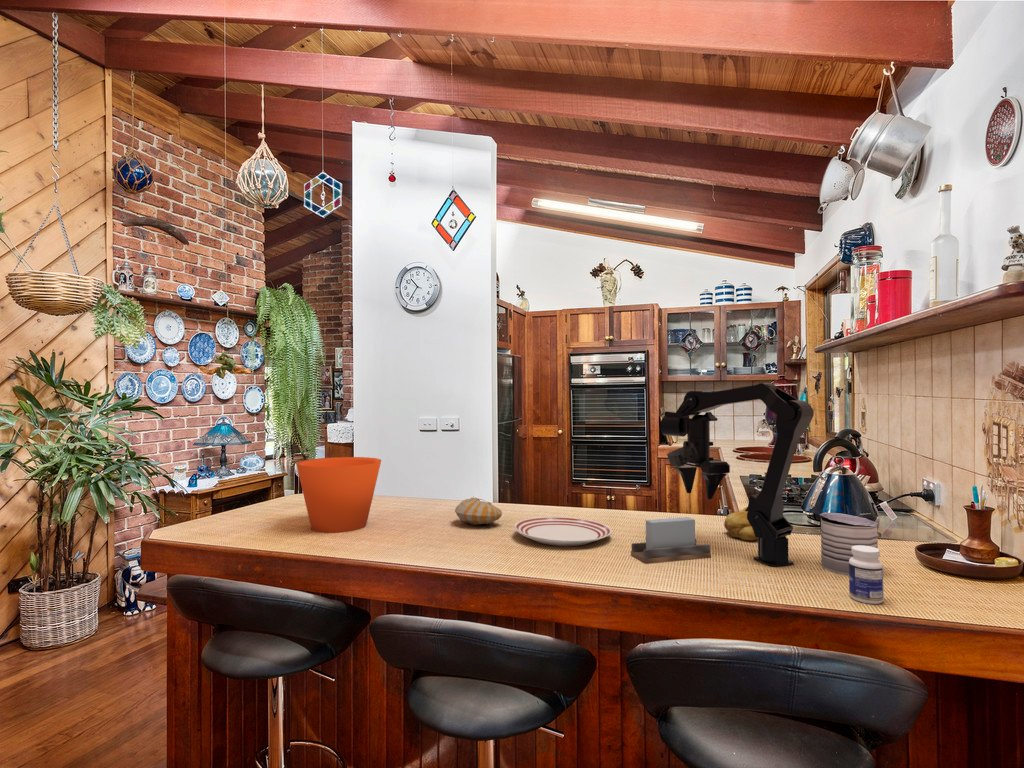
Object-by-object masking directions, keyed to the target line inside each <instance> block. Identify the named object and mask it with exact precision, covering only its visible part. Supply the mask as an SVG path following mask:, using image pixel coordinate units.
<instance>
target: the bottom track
mask: <svg viewBox="0 0 1024 768" xmlns="http://www.w3.org/2000/svg"><path fill="white" fill-rule="evenodd" d="M630 556H632V558H635V559H636V560H638V561H640V562H642V563H644V564H656V563H657V564H658V563H669V562H679V561H686V560H687V561H688V560H690V561H691V560H698V559H709V558H710V559H711V558H712V553H711V544H709V543H707V544H706V543H705V544H697V538H695V545H692V546H681V547H669V548H658V549H646V541H645V542H635V543H631V550H630Z"/></svg>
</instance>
